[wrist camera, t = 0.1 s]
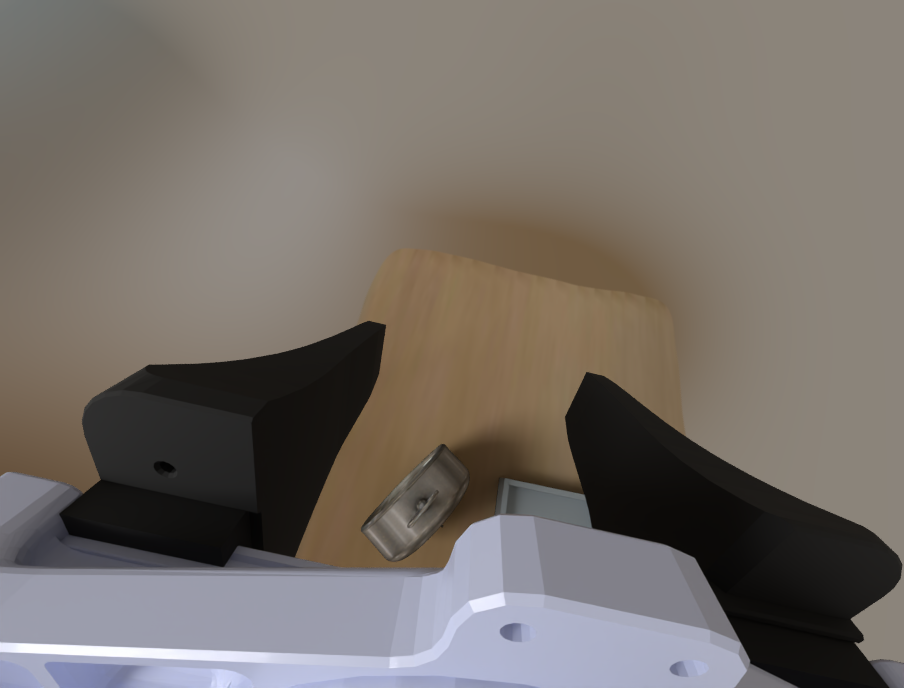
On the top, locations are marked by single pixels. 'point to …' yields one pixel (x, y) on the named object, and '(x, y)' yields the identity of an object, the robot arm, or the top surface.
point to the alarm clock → (417, 505)
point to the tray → (541, 502)
